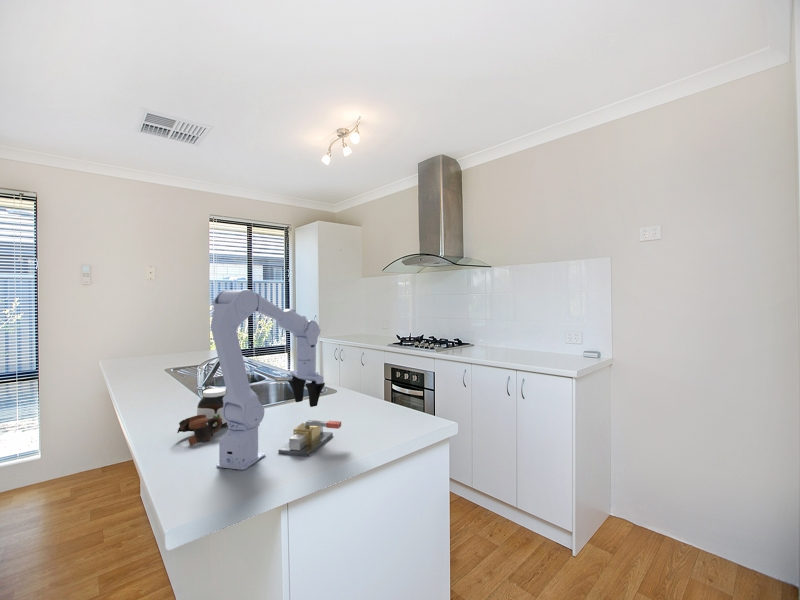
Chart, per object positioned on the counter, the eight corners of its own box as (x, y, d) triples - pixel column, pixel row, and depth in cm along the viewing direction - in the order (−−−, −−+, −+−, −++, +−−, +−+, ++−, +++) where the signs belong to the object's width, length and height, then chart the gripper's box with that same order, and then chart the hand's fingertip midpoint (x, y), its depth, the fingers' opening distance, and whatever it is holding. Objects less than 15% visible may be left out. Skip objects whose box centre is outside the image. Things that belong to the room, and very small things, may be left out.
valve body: (309, 456, 103) (309, 437, 103) (278, 453, 105) (278, 434, 105) (332, 435, 119) (332, 419, 119) (305, 433, 121) (305, 417, 121)
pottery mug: (178, 450, 109) (172, 421, 112) (185, 453, 117) (180, 426, 120) (223, 433, 114) (216, 406, 116) (228, 437, 122) (221, 412, 124)
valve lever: (303, 427, 111) (303, 421, 111) (306, 424, 113) (306, 419, 113) (338, 429, 109) (338, 424, 109) (341, 427, 111) (341, 421, 111)
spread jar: (194, 431, 123) (194, 394, 123) (202, 420, 134) (202, 386, 134) (235, 427, 126) (235, 391, 126) (239, 417, 137) (239, 384, 137)
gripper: (331, 360, 117) (331, 405, 117) (303, 355, 127) (303, 397, 127) (312, 363, 112) (311, 410, 112) (284, 357, 122) (284, 401, 122)
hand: (306, 403), depth 119 cm, fingers open, 7 cm apart
